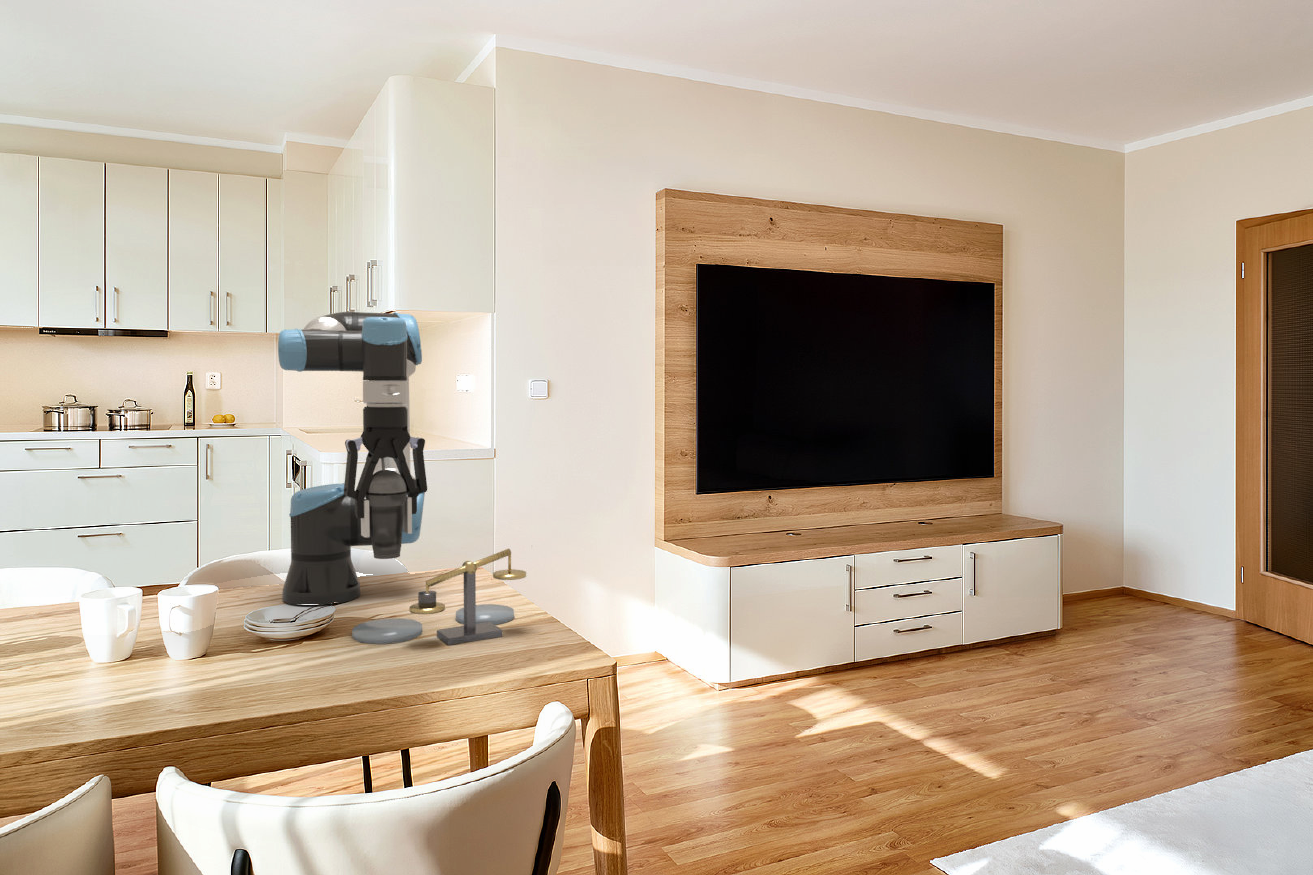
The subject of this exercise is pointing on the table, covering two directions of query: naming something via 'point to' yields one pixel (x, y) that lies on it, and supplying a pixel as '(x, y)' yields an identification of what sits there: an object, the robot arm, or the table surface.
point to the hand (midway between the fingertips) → (386, 534)
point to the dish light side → (489, 614)
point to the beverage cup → (386, 512)
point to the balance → (465, 601)
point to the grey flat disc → (387, 631)
